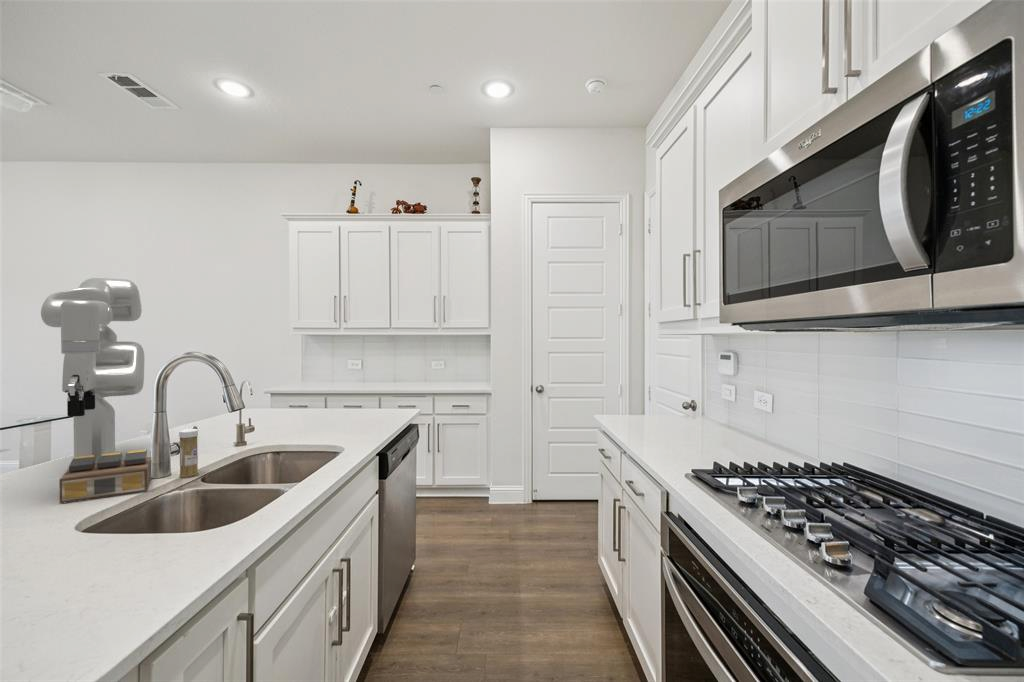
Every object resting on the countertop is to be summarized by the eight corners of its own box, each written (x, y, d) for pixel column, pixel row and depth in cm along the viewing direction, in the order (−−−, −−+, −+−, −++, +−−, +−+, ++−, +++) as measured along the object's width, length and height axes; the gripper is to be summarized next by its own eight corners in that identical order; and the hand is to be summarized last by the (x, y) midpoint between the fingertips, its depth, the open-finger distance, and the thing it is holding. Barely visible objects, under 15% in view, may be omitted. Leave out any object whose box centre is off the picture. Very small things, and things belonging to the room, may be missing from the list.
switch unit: (72, 488, 128) (72, 465, 128) (151, 477, 138) (151, 457, 138) (59, 504, 116) (58, 479, 116) (146, 491, 126) (146, 469, 125)
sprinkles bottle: (193, 477, 138) (192, 431, 138) (176, 478, 138) (175, 431, 137) (201, 472, 143) (201, 428, 142) (184, 473, 142) (184, 428, 142)
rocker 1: (74, 464, 127) (73, 456, 126) (96, 462, 129) (95, 454, 129) (69, 474, 122) (68, 466, 121) (91, 471, 124) (91, 463, 124)
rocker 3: (127, 458, 133) (126, 451, 132) (147, 456, 135) (146, 449, 135) (124, 467, 128) (124, 459, 127) (145, 465, 130) (144, 457, 130)
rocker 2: (101, 461, 130) (101, 454, 129) (122, 459, 132) (121, 451, 132) (97, 470, 125) (97, 462, 124) (119, 468, 127) (118, 460, 127)
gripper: (72, 345, 130) (73, 408, 131) (49, 349, 115) (51, 420, 116) (107, 345, 134) (108, 406, 135) (90, 349, 119) (91, 417, 120)
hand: (81, 412), depth 125 cm, fingers open, 9 cm apart
